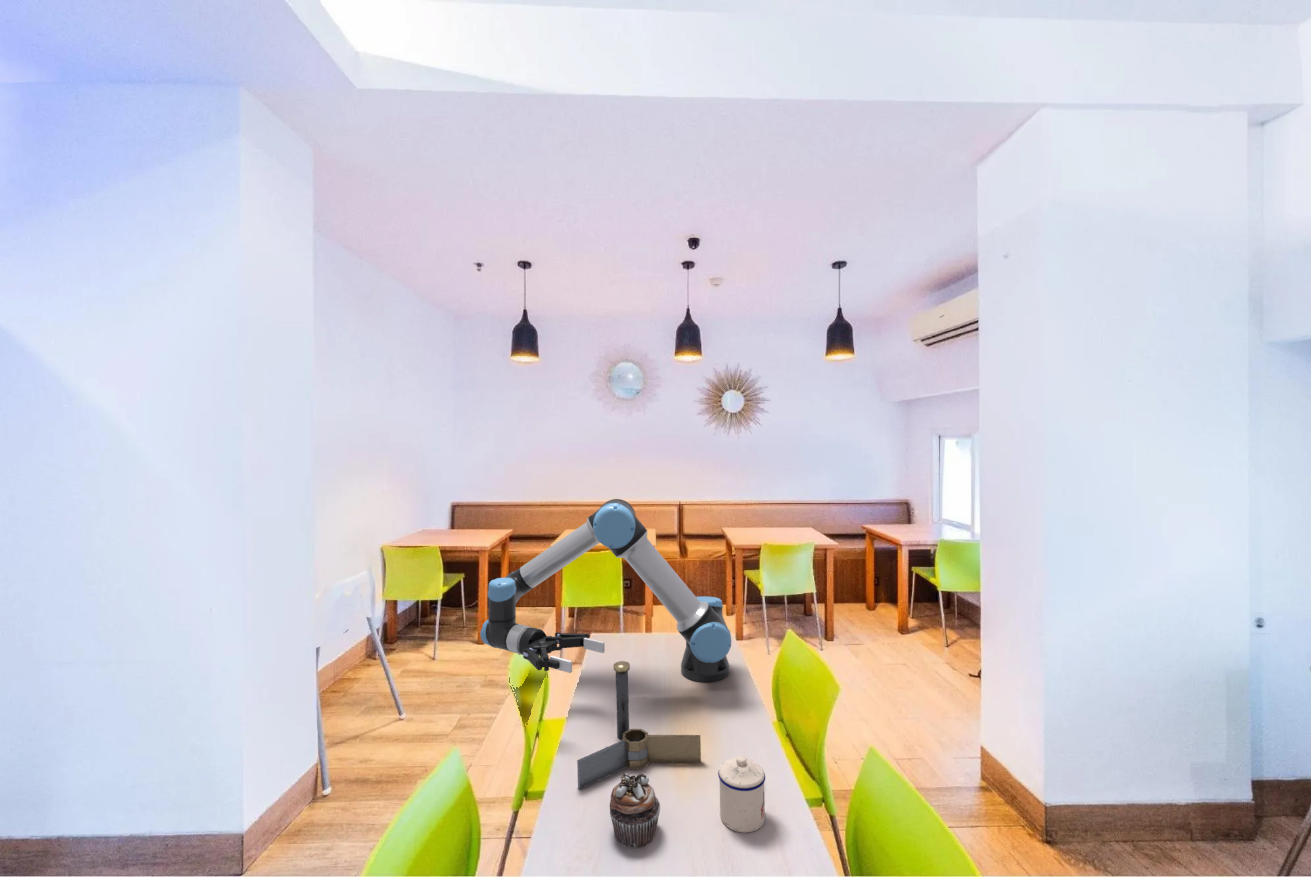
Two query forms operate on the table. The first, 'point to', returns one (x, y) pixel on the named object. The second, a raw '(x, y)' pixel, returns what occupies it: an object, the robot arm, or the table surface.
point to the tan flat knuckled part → (663, 748)
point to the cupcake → (634, 811)
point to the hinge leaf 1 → (606, 762)
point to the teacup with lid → (742, 794)
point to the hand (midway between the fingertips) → (588, 657)
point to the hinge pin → (622, 697)
